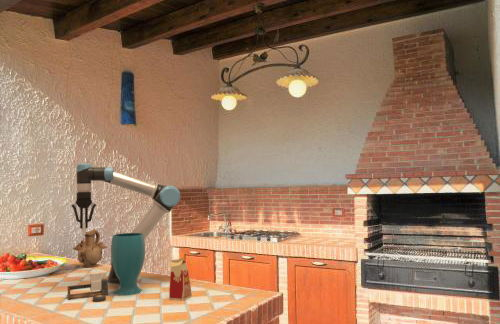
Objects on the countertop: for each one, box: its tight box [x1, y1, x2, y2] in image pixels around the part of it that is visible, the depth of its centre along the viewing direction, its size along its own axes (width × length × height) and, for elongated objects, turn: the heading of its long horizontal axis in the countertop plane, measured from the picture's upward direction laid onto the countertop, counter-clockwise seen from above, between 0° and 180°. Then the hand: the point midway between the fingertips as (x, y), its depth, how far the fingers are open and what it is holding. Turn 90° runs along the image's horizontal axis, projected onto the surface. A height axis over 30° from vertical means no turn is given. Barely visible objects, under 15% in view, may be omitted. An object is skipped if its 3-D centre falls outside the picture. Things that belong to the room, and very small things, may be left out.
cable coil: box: [92, 295, 107, 303], centre depth 219 cm, size 6×6×2 cm
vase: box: [110, 232, 146, 296], centre depth 236 cm, size 17×17×30 cm
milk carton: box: [168, 257, 193, 301], centre depth 222 cm, size 9×9×20 cm
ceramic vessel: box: [72, 228, 108, 268], centre depth 309 cm, size 18×19×25 cm
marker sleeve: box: [89, 271, 102, 292], centre depth 230 cm, size 5×4×8 cm
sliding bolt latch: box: [66, 278, 109, 301], centre depth 228 cm, size 19×7×7 cm, turn 116°
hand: (83, 234), depth 245 cm, fingers closed
